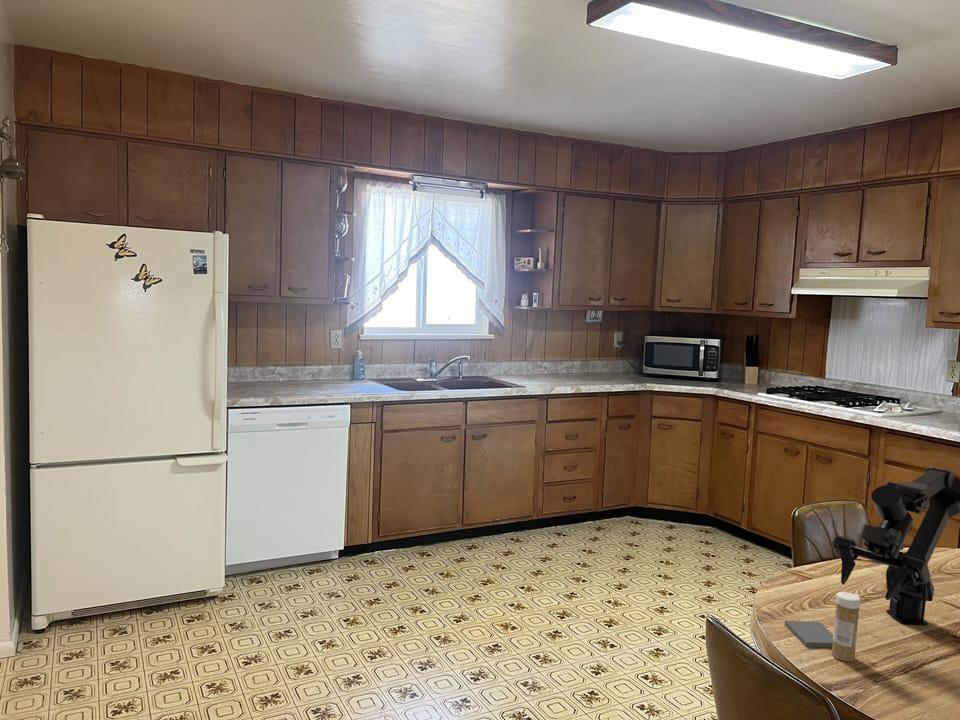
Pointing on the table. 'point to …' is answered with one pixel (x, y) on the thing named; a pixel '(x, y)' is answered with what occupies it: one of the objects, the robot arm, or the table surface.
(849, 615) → the sprinkles bottle
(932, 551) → the robot arm
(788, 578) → the table surface
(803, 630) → the slate tile
